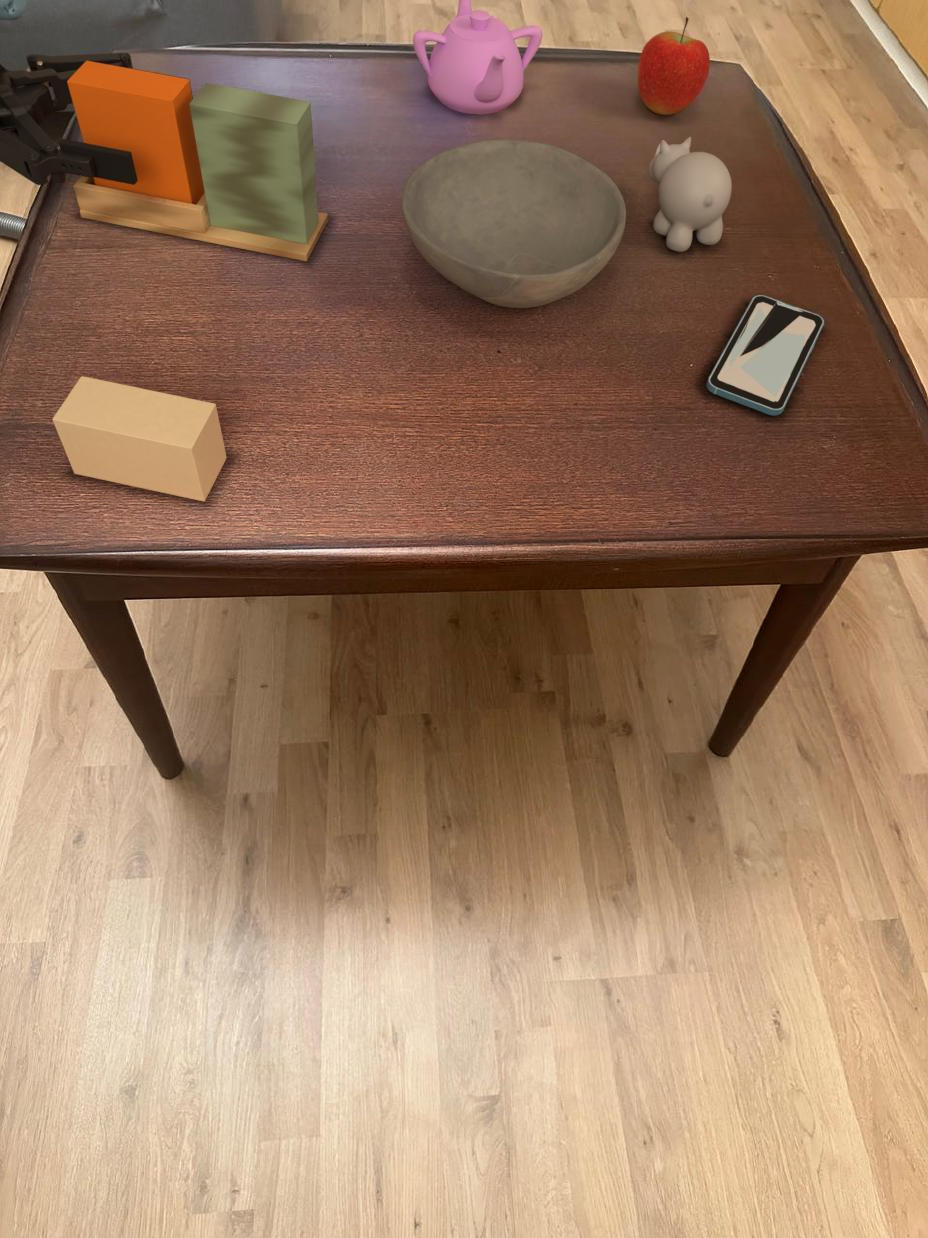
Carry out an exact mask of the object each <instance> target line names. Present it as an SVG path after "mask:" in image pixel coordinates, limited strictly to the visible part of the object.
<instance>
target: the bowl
mask: <svg viewBox="0 0 928 1238" xmlns="http://www.w3.org/2000/svg"><path fill="white" fill-rule="evenodd" d="M400 208H401V213H402V218H403V222H404V224H405V227H406V230H407V232H408V235H409V237H410V239H411V241H412V243H413V245H414V247H415V249H416V250H417V252H419V254H420V256H421V257H422V258H423V259H424V260H425V262H427V264H429V265H430V267H432V268H433V270H435V271H436V272H438V273H439V274H440V275H441V276H442V277H444V278H445V279H446V280H447V281H449V282H451V283H452V285H455V286H456V287H457V288H460V289H462V290H463V291H465V292H467V293H468V294H470V295H472V296H475V297H477V298H479V299H481V300H483V301H485V302H487V303H490V304H492V305H495V306H497V307H503V308H510V309H530V308H535V307H537V308H538V307H542V306H545V305H550V304H551V303H554V302H555V301H557V300H558V301H559V300H561V299H563V298H566V297H568V296H570V295H572V294H574V293H576V292H578V291H579V290H581V289H582V288H583V287H585V286H586V285H587V284H588V283H590V282H591V281H592V280H593V279H594V278H595V277H597V275H599V273H600V272H601V271H602V270H603V269H604V268H605V267H606V266H607V264H608V263H609V262H610V260H611V259H612V257H613V256H614V254H615V253H616V250H617V249H618V247H619V245H620V243H621V240H622V239H623V235H624V232H625V227H626V221H627V220H626V219H627V209H626V204H625V199H624V197H623V195H622V193H621V191H620V189H619V188H618V186H617V185H616V183H615V182H614V181H613V180H612V179H611V177H610V176H608V174H607V173H605V172H604V171H603V170H601V169H600V168H599V167H597V166H596V165H594V164H593V163H591V162H590V161H588V160H586V159H584V158H582V157H580V156H578V155H577V154H575V153H573V152H571V151H569V150H567V149H564V148H562V147H559V146H556V145H552V144H549V143H544V142H539V141H538V142H537V141H528V140H521V139H487V140H478V141H474V142H470V143H466V144H461V145H459V146H455V147H452V148H450V149H447V150H444V151H442V152H440V153H438V154H436V155H434V156H433V157H431V158H429V159H428V160H426V161H424V162H423V163H421V164H420V165H419V166H418V168H416V169H415V171H413V172H412V174H411V175H410V176H409V178H408V179H407V181H406V182H405V184H404V187H403V189H402V193H401V199H400Z"/></svg>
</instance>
